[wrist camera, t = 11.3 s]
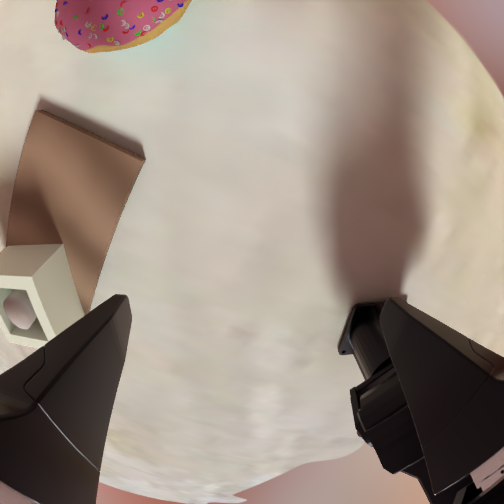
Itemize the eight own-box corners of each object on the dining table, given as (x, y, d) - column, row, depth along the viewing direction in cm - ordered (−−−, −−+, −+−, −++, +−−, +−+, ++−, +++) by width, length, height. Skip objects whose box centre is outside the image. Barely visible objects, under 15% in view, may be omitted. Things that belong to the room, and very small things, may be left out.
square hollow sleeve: (84, 314, 22) (64, 353, 17) (30, 309, 21) (7, 341, 17) (63, 243, 19) (31, 276, 14) (7, 245, 18) (-24, 273, 14)
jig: (87, 317, 23) (65, 362, 18) (9, 271, 20) (-23, 305, 15) (145, 159, 18) (114, 178, 12) (42, 110, 15) (-9, 116, 9)
